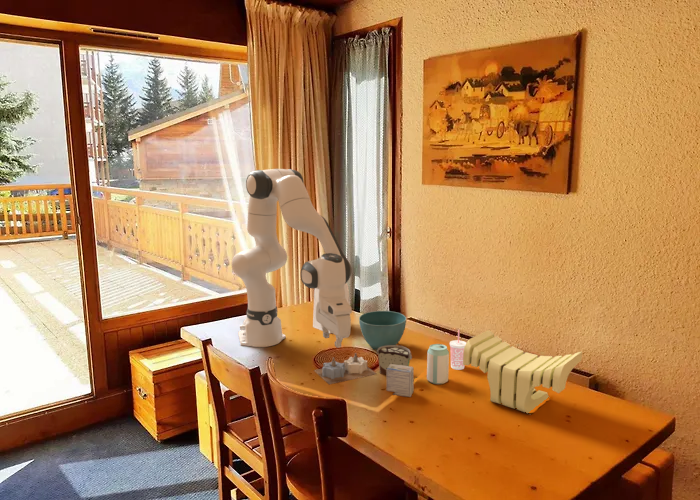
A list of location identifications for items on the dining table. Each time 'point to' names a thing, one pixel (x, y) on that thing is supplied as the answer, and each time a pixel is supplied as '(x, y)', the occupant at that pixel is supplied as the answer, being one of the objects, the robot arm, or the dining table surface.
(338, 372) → the blue gear
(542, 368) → the slatted curved stool
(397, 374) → the medicine box
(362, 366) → the cream gear
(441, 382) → the can
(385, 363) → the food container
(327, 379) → the gear board
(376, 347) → the teal bowl
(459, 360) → the beverage cup
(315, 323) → the milk
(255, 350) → the dining table surface
